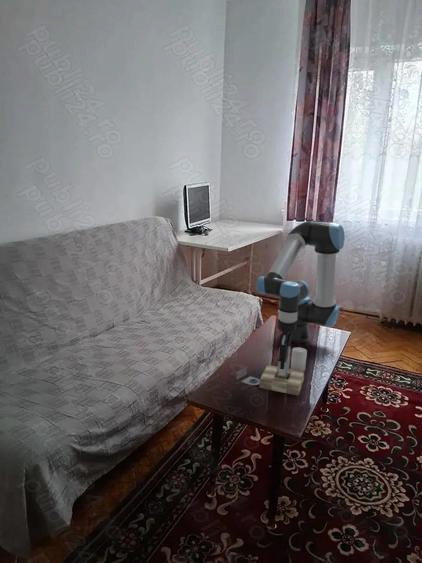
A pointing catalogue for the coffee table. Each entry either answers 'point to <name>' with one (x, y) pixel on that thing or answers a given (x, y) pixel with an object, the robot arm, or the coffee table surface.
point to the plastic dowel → (298, 359)
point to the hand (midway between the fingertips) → (282, 372)
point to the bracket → (248, 380)
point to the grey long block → (286, 364)
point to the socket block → (282, 380)
